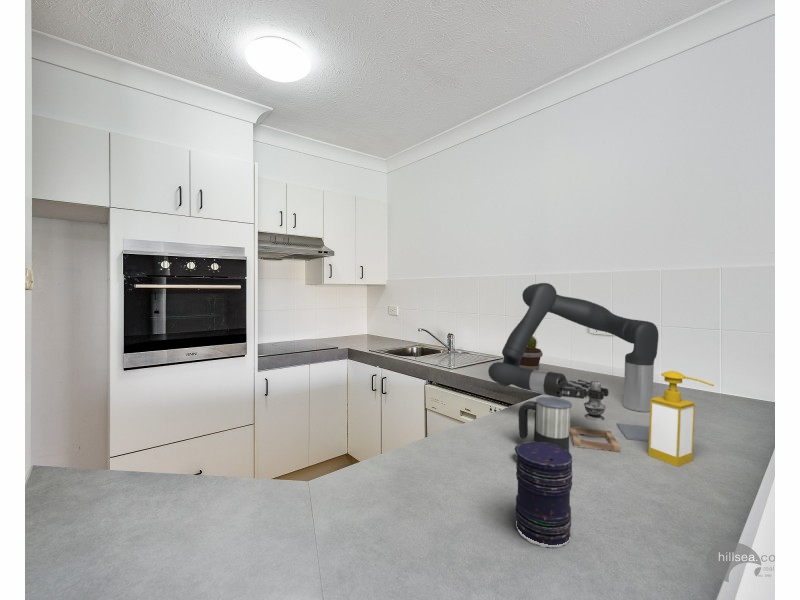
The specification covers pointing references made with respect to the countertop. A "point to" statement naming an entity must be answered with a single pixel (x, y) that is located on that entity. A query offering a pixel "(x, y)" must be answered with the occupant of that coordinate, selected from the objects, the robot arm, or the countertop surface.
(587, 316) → the robot arm
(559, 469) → the navy blue cylinder
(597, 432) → the holder frame
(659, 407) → the soap bottle
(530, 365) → the flowerpot
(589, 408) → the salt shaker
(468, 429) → the countertop surface
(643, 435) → the slate mat
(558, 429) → the milk frother
